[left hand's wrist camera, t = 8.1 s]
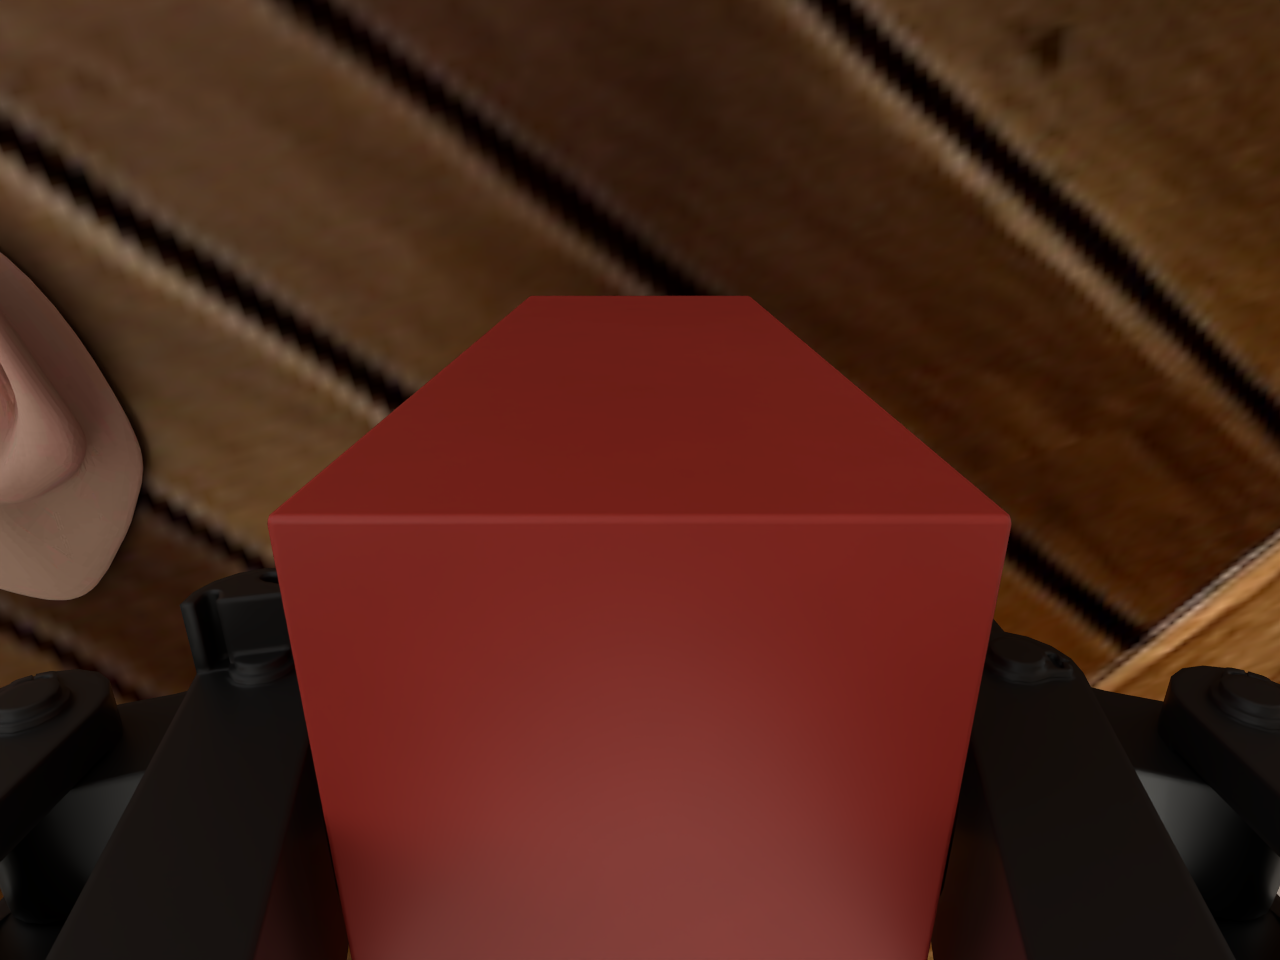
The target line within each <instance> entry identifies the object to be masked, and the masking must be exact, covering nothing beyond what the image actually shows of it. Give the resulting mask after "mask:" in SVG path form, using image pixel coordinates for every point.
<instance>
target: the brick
mask: <svg viewBox="0 0 1280 960" xmlns="http://www.w3.org/2000/svg"><path fill="white" fill-rule="evenodd" d="M1010 528H1011V519H1010V516H1009V514H1007V513H1006V512H1005V511H1004V510H1003V509H1001V508H1000V507H999V506H998V505H997V504H996V503H994V502H993V501H992V500H991V499H990V498H988V497H987V496H986V495H985V494H984V493H982V492H981V491H980V490H979V489H978V488H977V487H975V486H974V485H973V484H972V483H971V482H969V481H968V480H967V479H966V478H965V477H963V476H962V475H961V474H960V473H959V472H958V471H956V470H955V469H954V468H953V467H952V466H950V465H949V464H948V463H947V462H946V461H944V460H943V459H942V458H941V457H940V456H939V455H937V454H936V453H935V452H934V451H933V450H931V449H930V448H929V447H928V446H927V445H925V444H924V443H923V442H922V441H921V440H920V439H918V438H917V437H916V436H915V435H914V434H912V433H911V432H910V431H909V430H908V429H906V428H905V427H904V426H903V425H902V424H901V423H899V422H898V421H897V420H896V419H895V418H893V417H892V416H891V415H890V414H889V413H887V412H886V411H885V410H884V409H883V408H882V407H880V406H879V405H878V404H877V403H876V402H874V401H873V400H872V399H871V398H870V397H868V396H867V395H866V394H865V393H864V392H863V391H861V390H860V389H859V388H858V387H857V386H855V385H854V384H853V383H852V382H851V381H849V380H848V379H847V378H846V377H845V376H844V375H842V374H841V373H840V372H839V371H838V370H836V369H835V368H834V367H833V366H832V365H830V364H829V363H828V362H827V361H826V360H825V359H823V358H822V357H821V356H820V355H819V354H817V353H816V352H815V351H814V350H813V349H811V348H810V347H809V346H808V345H807V344H806V343H804V342H803V341H802V340H801V339H800V338H798V337H797V336H796V335H795V334H794V333H793V332H791V331H790V330H789V329H788V328H787V327H785V326H784V325H783V324H782V323H781V322H779V321H778V320H777V319H776V318H775V317H774V316H772V315H771V314H770V313H769V312H768V311H766V310H765V309H764V308H763V307H762V306H760V305H759V304H758V303H757V302H756V301H755V300H753V299H752V298H751V297H749V296H530V297H529V298H527V299H526V300H525V301H524V302H523V303H522V304H520V305H519V306H518V307H517V308H516V309H514V310H513V311H512V312H511V313H510V314H508V315H507V316H506V317H505V318H504V319H502V320H501V321H500V322H499V323H498V324H496V325H495V326H494V327H493V328H492V329H491V330H489V331H488V332H487V333H486V334H485V335H483V336H482V337H481V338H480V339H479V340H477V341H476V342H475V343H474V344H473V345H471V346H470V347H469V348H468V349H467V350H466V351H464V352H463V353H462V354H461V355H460V356H458V357H457V358H456V359H455V360H454V361H452V362H451V363H450V364H449V365H448V366H446V367H445V368H444V369H443V370H442V371H441V372H439V373H438V374H437V375H436V376H435V377H433V378H432V379H431V380H430V381H429V382H427V383H426V384H425V385H424V386H423V387H421V388H420V389H419V390H418V391H417V392H416V393H414V394H413V395H412V396H411V397H410V398H408V399H407V400H406V401H405V402H404V403H402V404H401V405H400V406H399V407H398V408H396V409H395V410H394V411H393V412H392V413H391V414H389V415H388V416H387V417H386V418H385V419H383V420H382V421H381V422H380V423H379V424H377V425H376V426H375V427H374V428H373V429H371V430H370V431H369V432H368V433H367V434H365V435H364V436H363V437H362V438H361V439H360V440H358V441H357V442H356V443H355V444H354V445H352V446H351V447H350V448H349V449H348V450H346V451H345V452H344V453H343V454H342V455H340V456H339V457H338V458H337V459H336V460H335V461H333V462H332V463H331V464H330V465H329V466H327V467H326V468H325V469H324V470H323V471H321V472H320V473H319V474H318V475H317V476H315V477H314V478H313V479H312V480H311V481H310V482H308V483H307V484H306V485H305V486H304V487H302V488H301V489H300V490H299V491H298V492H296V493H295V494H294V495H293V496H292V497H290V498H289V499H288V500H287V501H286V502H285V503H283V504H282V505H281V506H280V507H279V508H277V509H276V510H275V511H274V512H273V513H271V514H270V515H269V518H268V529H269V535H270V540H271V545H272V550H273V555H274V560H275V566H276V571H277V576H278V581H279V586H280V591H281V597H282V602H283V607H284V612H285V617H286V622H287V628H288V633H289V638H290V643H291V648H292V653H293V659H294V664H295V669H296V674H297V679H298V684H299V690H300V695H301V700H302V705H303V710H304V715H305V721H306V726H307V731H308V736H309V741H310V746H311V752H312V757H313V762H314V767H315V772H316V777H317V783H318V788H319V793H320V798H321V803H322V808H323V814H324V819H325V824H326V829H327V834H328V839H329V845H330V850H331V855H332V860H333V865H334V870H335V876H336V881H337V886H338V891H339V896H340V901H341V907H342V912H343V917H344V922H345V927H346V932H347V938H348V943H349V948H350V953H351V958H352V960H927V959H928V953H929V948H930V943H931V938H932V933H933V927H934V922H935V917H936V912H937V907H938V902H939V896H940V891H941V886H942V881H943V876H944V870H945V865H946V860H947V855H948V850H949V844H950V839H951V834H952V829H953V824H954V819H955V813H956V808H957V803H958V798H959V793H960V787H961V782H962V777H963V772H964V767H965V762H966V756H967V751H968V746H969V741H970V736H971V730H972V725H973V720H974V715H975V710H976V704H977V699H978V694H979V689H980V684H981V679H982V673H983V668H984V663H985V658H986V653H987V647H988V642H989V637H990V632H991V627H992V622H993V616H994V611H995V606H996V601H997V596H998V590H999V585H1000V580H1001V575H1002V570H1003V565H1004V559H1005V554H1006V549H1007V544H1008V539H1009V533H1010Z"/></svg>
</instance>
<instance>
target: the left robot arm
mask: <svg viewBox="0 0 1280 960" xmlns="http://www.w3.org/2000/svg"><path fill="white" fill-rule="evenodd" d="M180 607H181V611H182V615H183V619H184V623H185V627H186V631H187V635H188V639H189V643H190V647H191V651H192V655H193V659H194V663H195V667H196V671H197V675H196V676H195V678H194V680H193V682H192V684H191V686H190V688H189V690H188V691H186V692H182V693H177V694H173V695H168V696H162V697H157V698H152V699H146V700H141V701H136V702H130V703H125V704H119V705H117V704H116V701H115V698H114V694H113V691H112V688H111V684H110V681H109V680H108V679H107V678H106V677H104V676H103V675H101V674H100V673H99V672H94V671H87V670H80V669H75V670H65V671H56V672H55V671H49V672H44V673H39V674H36V676H34V677H33V676H32V675H31V676H27V677H24V678H21V679H18V680H15V681H13V682H12V683H11V684H9V685H7V686H5V687H2V688H0V888H1V891H2V893H3V895H4V897H3V898H2V899H1V901H0V960H347V953H348V945H349V943H348V938H347V932H346V927H345V922H344V917H343V912H342V907H341V901H340V896H339V891H338V886H337V881H336V876H335V870H334V865H333V860H332V855H331V850H330V845H329V839H328V834H327V829H326V824H325V819H324V814H323V808H322V803H321V798H320V793H319V788H318V783H317V777H316V772H315V767H314V762H313V757H312V752H311V746H310V741H309V736H308V731H307V726H306V721H305V715H304V710H303V705H302V700H301V695H300V690H299V684H298V679H297V674H296V669H295V664H294V659H293V653H292V648H291V643H290V638H289V633H288V628H287V622H286V617H285V612H284V607H283V602H282V597H281V591H280V586H279V581H278V576H277V571H276V568H265V569H259V570H253V571H248V572H242V573H238V574H235V575H232V576H229V577H226V578H223V579H220V580H216V581H214V582H212V583H210V584H208V585H206V586H204V587H202V588H200V589H199V590H197V591H195V592H193V593H192V594H191V595H190V596H189V597H188V598H187V599H186V600H185V601H184V602H182V603H181V604H180ZM1279 886H1280V684H1278V683H1275V682H1273V681H1271V680H1270V679H1268V678H1267V677H1265V676H1262V675H1259V674H1255V673H1252V672H1249V671H1248V673H1245V671H1244V670H1240V669H1235V668H1228V667H1227V668H1221V667H1211V666H1197V667H1189V668H1182V669H1181V670H1179V671H1178V672H1177V673H1175V674H1174V675H1173V676H1171V679H1170V682H1169V686H1168V689H1167V692H1166V696H1165V699H1164V702H1163V701H1157V700H1152V699H1147V698H1141V697H1136V696H1131V695H1125V694H1120V693H1114V692H1109V691H1104V690H1100V689H1096V688H1092V687H1091V686H1090V685H1089V683H1088V681H1087V679H1086V677H1085V675H1084V673H1083V672H1082V671H1081V670H1080V668H1079V667H1078V666H1077V665H1076V664H1075V663H1074V662H1073V660H1072V659H1071V658H1069V657H1068V656H1066V655H1065V654H1063V653H1061V652H1060V651H1058V650H1057V649H1055V648H1054V647H1052V646H1050V645H1047V644H1045V643H1042V642H1040V641H1037V640H1035V639H1032V638H1029V637H1027V636H1022V635H1017V634H1012V633H1007V632H1004V631H1003V630H1002V629H1001V627H1000V626H999V625H998V624H997V623H996V622H995V620H994V619H993V622H992V627H991V632H990V637H989V642H988V647H987V653H986V658H985V663H984V668H983V673H982V679H981V684H980V689H979V694H978V699H977V704H976V710H975V715H974V720H973V725H972V730H971V736H970V741H969V746H968V751H967V756H966V762H965V767H964V772H963V777H962V782H961V787H960V793H959V798H958V803H957V808H956V813H955V819H954V824H953V829H952V834H951V839H950V844H949V850H948V855H947V860H946V865H945V870H944V876H943V881H942V886H941V891H940V896H939V902H938V907H937V912H936V917H935V922H934V927H933V933H932V938H931V944H932V951H933V959H934V960H1280V897H1279V896H1278V895H1277V891H1278V889H1279Z"/></svg>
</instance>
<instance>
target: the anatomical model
mask: <svg viewBox="0 0 1280 960" xmlns="http://www.w3.org/2000/svg"><path fill="white" fill-rule="evenodd" d="M142 475H143V461H142V453H141V449H140V446H139V443H138V441H137V438H136V435H135V433H134V431H133V429H132V427H131V424H130V422H129V420H128V418H127V416H126V414H125V412H124V410H123V409H122V407H121V405H120V403H119V401H118V399H117V398H116V396H115V394H114V393H113V391H112V389H111V388H110V386H109V384H108V383H107V381H106V379H105V378H104V376H103V375H102V373H101V371H100V370H99V368H98V366H97V365H96V363H95V362H94V360H93V359H92V357H91V356H90V354H89V353H88V351H87V350H86V348H85V347H84V345H83V344H82V342H81V341H80V339H79V338H78V336H77V335H76V334H75V332H74V331H73V330H72V328H71V327H70V326H69V324H68V323H67V322H66V321H65V319H64V318H63V317H62V315H61V314H60V313H59V311H58V310H57V309H56V308H55V306H54V305H53V304H52V303H51V302H50V301H49V300H48V298H47V297H46V296H45V295H44V294H43V293H42V292H41V291H40V290H39V288H38V287H37V286H36V285H35V284H34V283H33V282H32V281H31V280H30V279H29V278H28V277H27V276H26V275H25V274H24V273H23V272H22V271H21V270H20V269H19V268H18V267H17V266H16V265H14V264H13V263H12V262H11V261H10V260H9V259H8V258H7V257H6V256H4V255H3V254H2V253H1V252H0V589H3V590H7V591H10V592H14V593H18V594H22V595H26V596H30V597H36V598H42V599H47V600H69V599H74V598H77V597H80V596H82V595H84V594H86V593H88V592H89V591H91V590H92V589H93V588H94V587H95V586H96V585H97V584H98V583H99V581H100V580H101V579H102V577H103V576H104V574H105V573H106V571H107V570H108V569H109V567H110V565H111V563H112V561H113V559H114V557H115V555H116V553H117V551H118V549H119V547H120V545H121V543H122V541H123V539H124V538H125V536H126V533H127V531H128V529H129V526H130V524H131V521H132V518H133V514H134V511H135V507H136V503H137V499H138V496H139V492H140V488H141V484H142Z"/></svg>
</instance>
